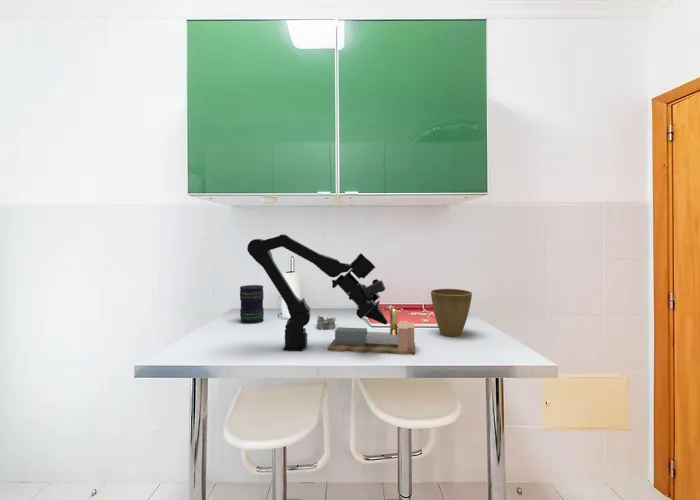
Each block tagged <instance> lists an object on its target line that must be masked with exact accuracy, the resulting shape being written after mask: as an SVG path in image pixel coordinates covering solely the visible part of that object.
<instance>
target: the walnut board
mask: <svg viewBox="0 0 700 500" xmlns="http://www.w3.org/2000/svg"><path fill="white" fill-rule="evenodd" d="M415 348H416V342H415V341H414V350H408V351H398V344H376V343H367V344H366V346H365V347H364V346H342V345H335V338H334V339H333V340H332V341H331V343H330V344H329V345H328V346H327V351H328V350H335V351H334V352H344V351H350V352H349V353H365V352H372V353H371V354H386V353H388V354H390V355H392V354H393V355H407V354H413V355H412V356H415V354H416V352H415V351H416V349H415Z"/></svg>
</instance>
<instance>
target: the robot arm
mask: <svg viewBox="0 0 700 500" xmlns="http://www.w3.org/2000/svg"><path fill="white" fill-rule="evenodd" d="M281 247H282V248H284V249H285V250H288V251H290V252H292V253H293V254H295V255H297V256H299V257H301V258H303V259H304V260H306V261H308V262H310V263H311V264H313V265H315V266H316V267H317V268H318V269H319V270H320V271H322V272H323V273H324V274H325V275H326V276H328V277H329V278H335V279H331V284H332V286H331V288H332V289H336V288H337V286H338V287H339V288H340V289H341V290H342V291H343V292H344V293H345V294H346V295H347V296H348V299H349V300H350V301H351V300H352V301H353V302H354V303H355V304H356V306H357V307H356V308H357V309H356V316H357V317H358V318H359V319H360V320H362V319H363V318H364V317H365V318H368V319H370V320H374V321H376V322H378V323H380V324H383V325H384V326H385V325H387V324H388V323H389V322H388V320H387V318H386V317H385V315H384V313H383V312H382V310H381V308H380V300H379V298H380V297H381V295H379V293H382V292H384V291H386V287H385V285H384V282H383V280H379V279H377V278H375V279H373V280H372V283H371V284H370V285H365V284H363V283H362V284H361V282H360V281H359V280H360V279H365V278H366V277H367V276H368V275H369V274H371V272H372V271H374V269H376V266H375V265H374V264H373V263H372V262H371V260H370V259H368V258H367V257H365V255H364V254H363V253H359V254H358V255H357V256H356V257H355V259H354V260H353V261H352V262H351V263H346V262H345V263H343V262H340V260H338V259H337V258H334V257H331V256H329V255H324V254H321V253H319V252H317V251H315V250H313V249H311V248H309V247H307V246H306V245H304V244H302V243H301V242H298V241H297V240H296V239H294V238H291V237H290V236H289V235H287V234H280V235H278V236H274V237H270V238H268V239H262V238H256V239H254V238H253V239H251V240H250V241H249V243H247V249H246V250H247V253H248V254H249V256H251V257H252V258H253V260H254V261H255V262H256V263H258V265H260V266H261V267H262V268H263V270H264V271H265V273H266V275H267V276H268V277H269V279H270V280H271V282H272V284H273V285H274V287H275V289H276V291H277V292H278V293H279V295H280V296H281V298H282V299H283V301H284V303H285V304H286V308H287V310H288V313H289V316H290V318H288V319H287V321H286V324H285V327H284V328H285V329H284V347H283V348H282V350H284V351H288V350H289V351H304V349H306V347H307V346H308V332H307V329H306V327H305V326H307V325H308V324H309V323H310V319H311V307H310V306H309V305H308V304H307V302H306V298H304V297H303V298H301V299H300V298H299V297H297V295H296V294H295V292H294V291H293V289H292V288H291V286H290V284H289V282H288V281H287V280H286V278H285V277H284V274H283V273H282V271H281V270H280V269H279V267H278V265H277V264H276V262H275V259H274V258H273V254H272V251H273V250H275V249H278V248H281ZM351 272H352V273H353V274H352V273H351ZM343 273H346V274H345V275H344V274H343ZM354 275H355V276H354ZM356 278H357V279H356ZM358 279H359V280H358ZM377 300H378V301H377ZM376 301H377V302H376Z"/></svg>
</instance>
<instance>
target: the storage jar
mask: <svg viewBox="0 0 700 500" xmlns="http://www.w3.org/2000/svg"><path fill="white" fill-rule="evenodd" d="M239 289H240V290H239V300H240V310H239V312H240V313H239V317H240V323H241V324H245V325H255V324H260V323H264V318H265V317H264V316H265V312H264V310H265V309H264V285H261V284H259V285H258V284H251V285H250V284H249V285H248V284H247V285H242V286H241V285H240V286H239Z"/></svg>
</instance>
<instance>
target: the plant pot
mask: <svg viewBox="0 0 700 500" xmlns="http://www.w3.org/2000/svg"><path fill="white" fill-rule="evenodd" d="M430 295H431V296H430V297H431V302H432V303H431V304H432V308H433V313H434V316H435V317H434V318H435V321H436V324H437V327H438V330H439V332H440V334H441V335H442V336H445V337H460V336H461V335H462V333H463V331H464V328H465V326H466V322H467V321H468V320H467V319H468V317H469V312H470V308H471V303H472V297H473V292H472V291H469V290H465V289H458V288H435V289H432V290H430Z"/></svg>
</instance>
